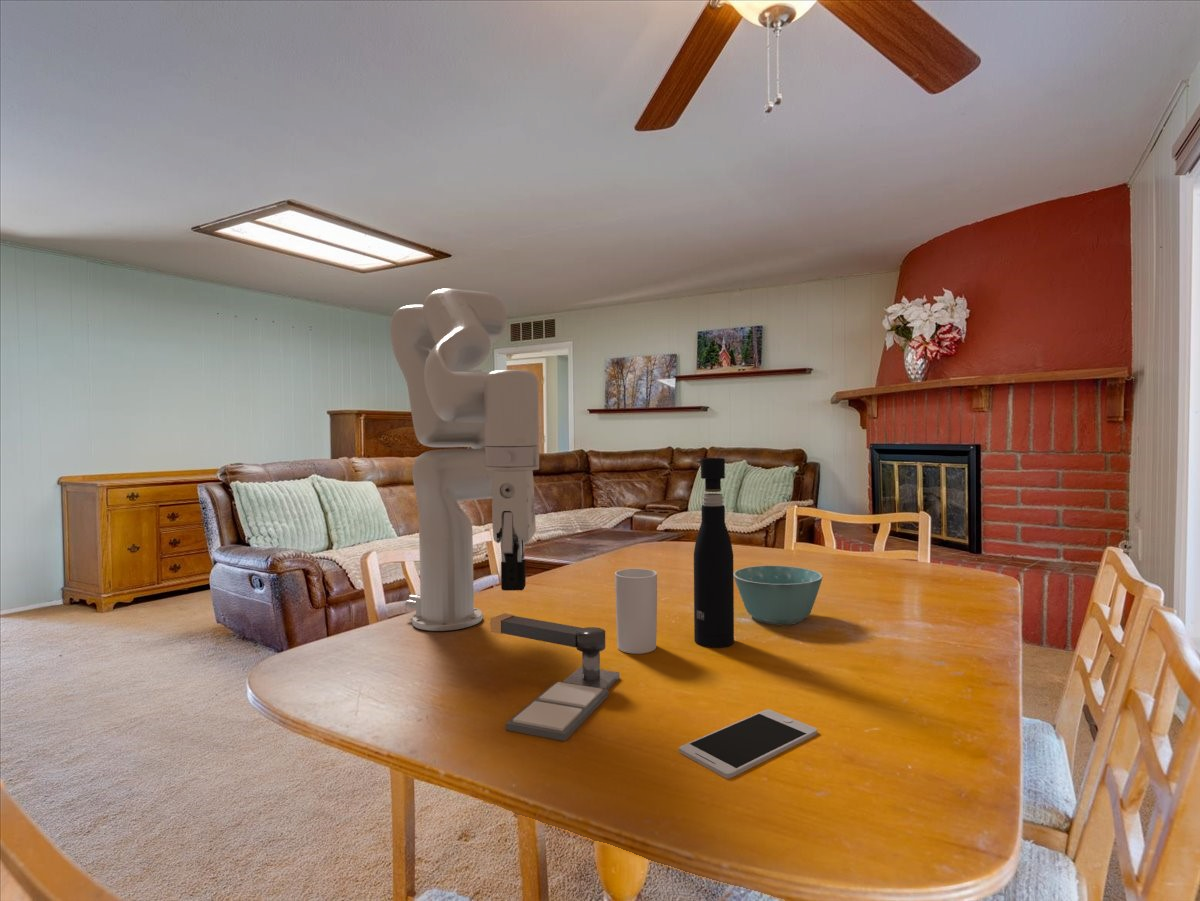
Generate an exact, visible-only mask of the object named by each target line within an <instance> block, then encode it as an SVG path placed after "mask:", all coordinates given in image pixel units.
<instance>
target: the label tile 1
mask: <svg viewBox="0 0 1200 901" xmlns="http://www.w3.org/2000/svg"><path fill="white" fill-rule="evenodd" d="M588 712H589V711H588V710H584V709H579V708H573V707H567V706H561V705H556V704H550V703H544V702H538V701H533V700H532V701H531V702H530V703H529V704H527V705H526V706H525V707H524V708H522V710H520V711H519V712H518V713H517V714H515V715H514V716H513V717H512V718H510V719H509V720H508V721H507V722H506V723H505V730H506V731H510V732H514V733H520V734H525V735H530V736H534V737H535V736H536V737H540V738H545V739H551V740H555V741H556V740H557V741H562V742H566V741H567V740H568V739H569V738H570V737H571V736H572V735H573V734H574V732H576V731H577V729H578V728H579V727H580V726H581V725H582V724H583V723H584V722H585V721H586V720H587V719H588V718H589V717H590V716H589V715H588V714H589V713H588ZM588 716H589V717H588Z"/></svg>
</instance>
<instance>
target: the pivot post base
mask: <svg viewBox="0 0 1200 901" xmlns="http://www.w3.org/2000/svg"><path fill="white" fill-rule="evenodd" d="M600 655H601V651H600V652H593V653H587V652H581V656H582V657H581V659H582V662H581V663H582V665H581V666H579V667H578V668H577V669H576V670H575V671H573V672H572V673H571V674H569V676H568V677H566V678H565V679H564V680H563V681H562V683H569V684H575V685H582V686H588V687H595V688H601V689H606V690H608V691H609V689H611V687H612V686H613V685H614V684H615V683H616V682H617V681H619V679H620V672H619V671H612V670H605V669H601V667H600V666H601V658H600V657H601V656H600Z"/></svg>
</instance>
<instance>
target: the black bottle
mask: <svg viewBox="0 0 1200 901" xmlns="http://www.w3.org/2000/svg"><path fill="white" fill-rule="evenodd" d="M725 463H726V459H725V458H724V457H703V458H701V459H700V479H703V480H704V481H705V482H704V485H705V486H704V491H705V492H707V493H703V496H702V499H703V500H702V503H703V504H702V505H701V523H700V526H699V529H698V531H697V535H696V539H695V543H694V544H695V545H694V549H693V550H694V551H693V608H694V609H693V611H694V612H693V615H694V616H693V626H694V627H693V628H694V629H693V630H694V632H693V634H694V640H693V641H694V642H695V643H696V644H697V645H699V646H701V647H705V648H713V649H714V648H715V649H718V648H726V647H730V646H732V645H733V644H734V643H735V627H734V626H735V624H734V623H735V612H734V611H735V610H734V609H735V605H734V602H735V601H734V597H735V595H734V589H735V586H734V581H735V578H734V575H733V574H734V552H733V546H732V541H731V537H730V534H729V531H728V527H727V526H726V516H725V515H726V514H725V513H726V511H725V510H726V507H725V505H724V504H723V503H724V501H723V499H724V496H723V493H718V492H721V491H722V488H721V485H722V484H721V483H722V481H721V480H722V479H723V480H724V479H725V478H726V464H725Z"/></svg>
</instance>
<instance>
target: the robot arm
mask: <svg viewBox="0 0 1200 901" xmlns="http://www.w3.org/2000/svg"><path fill="white" fill-rule="evenodd" d="M506 310H507V309H506V308H505V305H504V303H503V301H502V300H501V298H500V297H499V296H497V295H495V294H493V293H491V292H486V291H485V292H483V291H476V290H468V289H467V290H466V289H460V288H459V289H458V288H441V289H440V288H439V289H437V290H434V291H432V292H431V293H429V294H428V295H427V297H426V298H425V300H424V301H423V304H409V305H405V306H402V307H399V308H398V309H396V310H395V311H394V312H393V314H392V316H391V319H390V325H389V326H390V342H391V347H392V351H393V354H394V357H395V359H396V362H397V364H398V367H399V368H400V370H401V373H402V374H403V377H404V380H405V382H406V387H407V391H408V393H407V394H408V398H409V399H408V400H409V405H410V412H411V418H412V424H413V430H414V434H415V437H416V439H417V441H418V442H419V443H420V444H421V445H423V446H426V447H429V448H440V449H433V450H428V451H425V452H423V453H421V454H420V455H418V457H417V458H415V460H414V462H413V465H412V470H411V471H412V482H413V486H414V492H415V497H416V505H417V516H418V536H419V537H418V541H419V544H418V545H419V549H418V551H419V585H420V586H419V588H420V590H419V592H420V594H409V596H408V598H407V600H406V601H405V604H404V605H405V606H404V607H405V608H408V609H409V608H410V609H415V614H414V615H413V616H412V618H411V624H412V626H413V627H415V628H417V629H419V630H422V631H429V632H447V631H456V630H462V629H466V628H470V627H473V626H475V625H477V624H479V623H480V622H482V620H483V616H484V615H483V611H482V610H480V609H479V608H476V607H475V604H474V603H475V602H474V601H475V599H474V598H475V597H474V587H475V586H474V542H473V541H474V540H473V536H474V534H473V524H472V521H471V519H470V518H469V516H468V514H467V513H466V512H465V511H464V509H462V508H461V506H460V505H459V502H465V501H474V500H487V499H491V503H492V504H491V512H492V513H491V515H492V516H491V517H492V521H491V523H492V538H493V540H494V541H495V542H496V543H497V544H499V543H500V549H501V550H500V552H501V553H500V554H501V556H500V557H501V562H500V579H501V582H500V585H501V590H502V591H524V589H525V587H526V585H527V584H526V559H525V545H526V544H528V543H529V542H530V541H532V539H533V537H534V536H535V533H536V530H537V528H536V509H535V507H536V506H535V502H536V501H535V483H534V482H535V480H534V473H533V472H534V471H537V470H538V471H539V469H540V428H539V427H540V419H539V418H540V417H539V415H540V412H539V409H540V408H539V404H540V402H539V401H540V400H539V396H540V395H539V394H540V393H539V380H538V377H537V375H536V374H535V373H534V372H533V371H529V370H523V369H498V370H492V371H490V372H486V371H485V372H484V371H471V370H473V369H475V368H477V367H478V366H480V365H482V364H483V362H484V361H485V360H486V359H487V358H488V356H489V354H490V351H491V348H492V346H491V345H492V344H494V343H496V342H497V341H498V340H499V339H500V338H501V337H502V336H503V334H504V333H505V330H506V327H507V319H508V318H507V311H506ZM441 448H443V449H441Z"/></svg>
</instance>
